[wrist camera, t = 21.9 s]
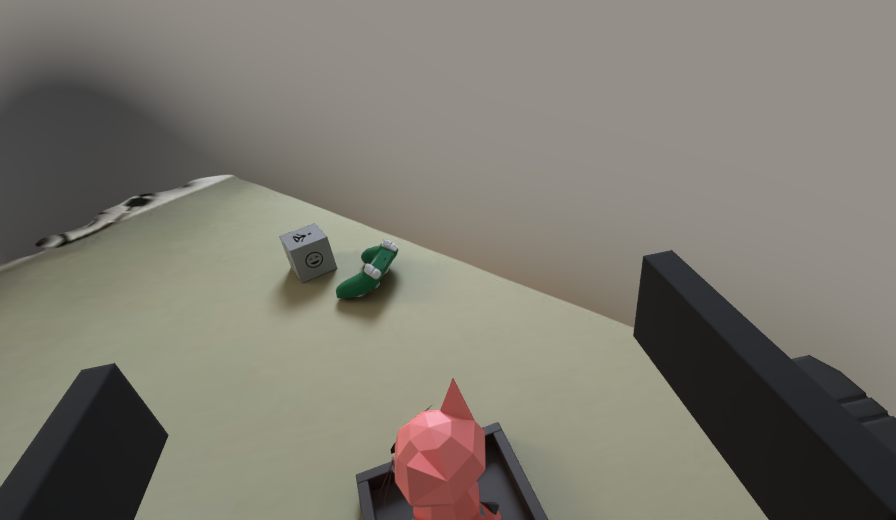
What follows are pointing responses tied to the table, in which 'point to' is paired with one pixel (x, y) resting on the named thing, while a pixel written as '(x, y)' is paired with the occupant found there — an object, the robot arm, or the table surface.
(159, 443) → the robot arm
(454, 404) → the cat figurine
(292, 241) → the dice cube
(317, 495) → the table surface
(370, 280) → the green elongated piece
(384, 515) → the black tray
